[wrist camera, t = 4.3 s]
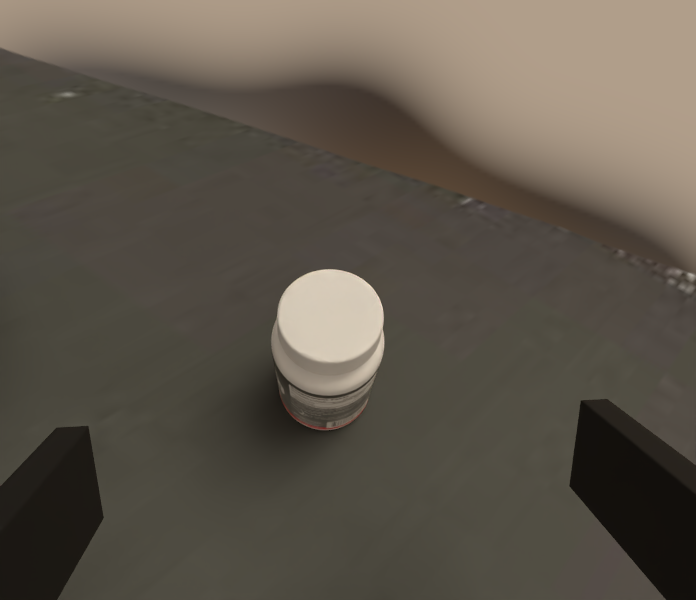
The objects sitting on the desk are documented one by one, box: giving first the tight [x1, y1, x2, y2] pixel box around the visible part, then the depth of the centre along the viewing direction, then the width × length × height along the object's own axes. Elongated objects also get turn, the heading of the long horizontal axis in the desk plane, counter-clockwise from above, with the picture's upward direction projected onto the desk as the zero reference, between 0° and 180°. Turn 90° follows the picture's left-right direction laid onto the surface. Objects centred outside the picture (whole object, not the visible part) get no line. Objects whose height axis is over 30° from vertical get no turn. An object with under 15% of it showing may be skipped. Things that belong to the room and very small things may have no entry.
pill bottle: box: [271, 269, 384, 430], centre depth 21 cm, size 5×5×8 cm
